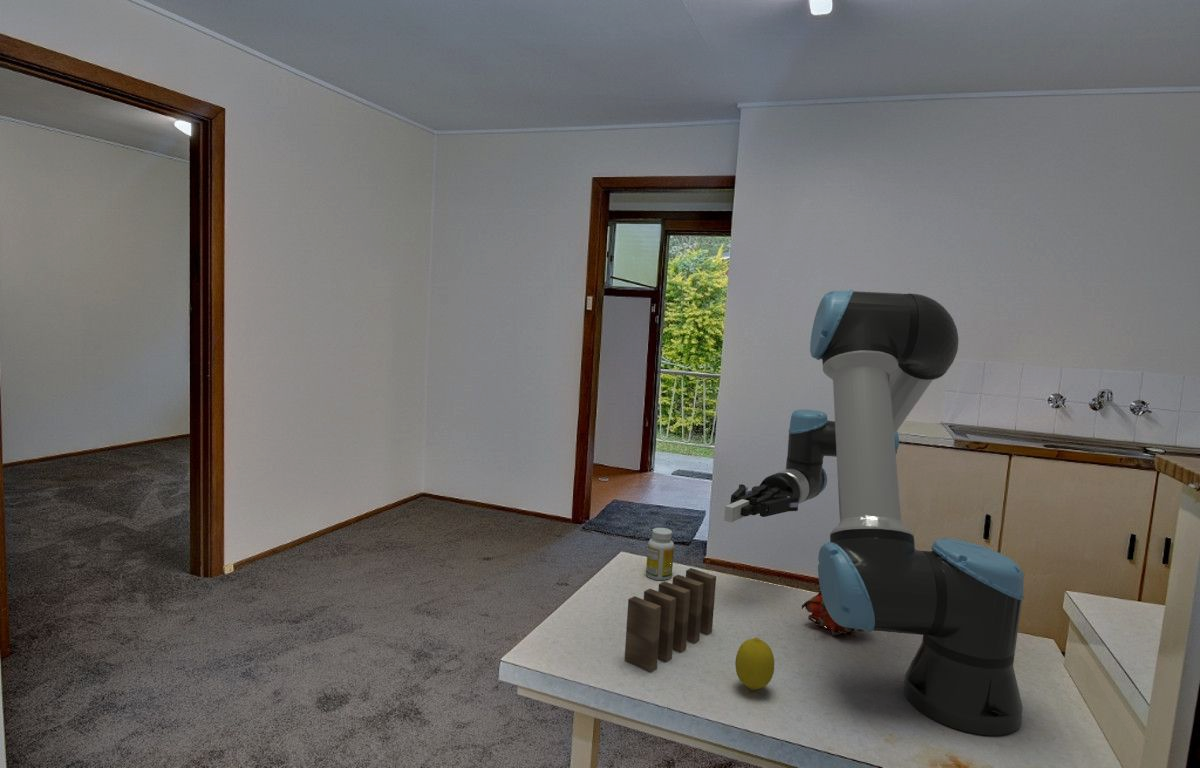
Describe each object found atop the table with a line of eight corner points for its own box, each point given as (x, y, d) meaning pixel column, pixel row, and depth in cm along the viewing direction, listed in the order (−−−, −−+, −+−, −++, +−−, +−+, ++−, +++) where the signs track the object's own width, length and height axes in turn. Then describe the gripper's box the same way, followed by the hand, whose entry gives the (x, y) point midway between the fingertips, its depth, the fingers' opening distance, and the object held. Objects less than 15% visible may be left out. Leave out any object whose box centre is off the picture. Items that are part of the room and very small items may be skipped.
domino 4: (699, 640, 116) (703, 583, 115) (694, 643, 114) (698, 585, 113) (674, 630, 119) (678, 574, 118) (668, 633, 118) (672, 577, 116)
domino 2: (671, 658, 109) (676, 598, 108) (666, 662, 108) (670, 601, 107) (645, 647, 112) (649, 588, 111) (640, 651, 111) (644, 591, 110)
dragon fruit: (876, 650, 119) (803, 644, 124) (874, 606, 125) (805, 602, 130) (874, 623, 114) (798, 618, 118) (872, 578, 120) (800, 575, 125)
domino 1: (656, 668, 106) (661, 606, 105) (650, 672, 105) (655, 609, 104) (630, 657, 109) (634, 596, 108) (624, 660, 108) (628, 599, 107)
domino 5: (711, 632, 119) (716, 576, 118) (707, 635, 118) (711, 578, 117) (686, 622, 122) (691, 568, 121) (682, 625, 121) (686, 570, 120)
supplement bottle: (646, 580, 140) (649, 534, 139) (645, 570, 145) (648, 525, 144) (672, 581, 140) (676, 535, 139) (671, 571, 145) (674, 527, 144)
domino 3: (685, 649, 112) (690, 590, 111) (680, 653, 111) (685, 593, 110) (660, 638, 116) (664, 581, 114) (654, 642, 114) (658, 584, 113)
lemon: (772, 703, 98) (777, 649, 97) (733, 697, 99) (737, 644, 98) (771, 683, 104) (775, 632, 103) (733, 677, 105) (737, 626, 104)
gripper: (812, 515, 139) (760, 543, 121) (753, 501, 147) (695, 525, 129) (816, 479, 138) (763, 502, 120) (756, 466, 146) (698, 486, 128)
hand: (728, 514), depth 125 cm, fingers closed
